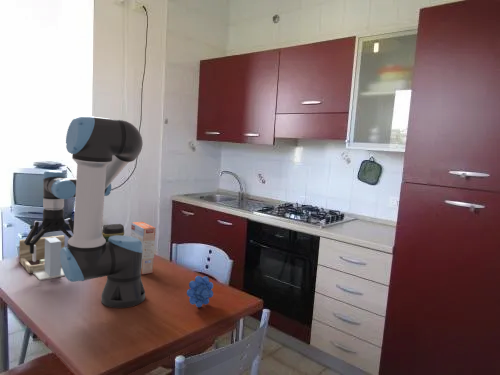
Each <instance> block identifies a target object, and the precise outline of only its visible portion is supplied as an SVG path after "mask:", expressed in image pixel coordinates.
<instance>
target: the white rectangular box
mask: <svg viewBox="0 0 500 375" xmlns="http://www.w3.org/2000/svg"><path fill="white" fill-rule="evenodd" d="M60 251H61V241H60V240H58V239H57V238H56V237H53V238H45V266H44V271H45V272H46V273H47V274H48V275H49V276H55V275H61V260H60Z"/></svg>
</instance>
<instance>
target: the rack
mask: <svg viewBox="0 0 500 375" xmlns="http://www.w3.org/2000/svg"><path fill="white" fill-rule="evenodd" d="M65 236H66V235H65V234H64V235H54V236H45V237H43V236H42V237H41V238H40V239H39V240H38V241H37V243H36V244H35V245H36V261H40V260H42V259H45V238H53V237H56V238H57V239H58V240H60V241H61V249H62V248H64V247H65V243H66V242H65ZM25 240H26V238H25V239H19V254H18V255H19V256H18V257H19V258H18V259H19V263H20V264H21V265H22V266H23V268H24V269H25V270H26V271H27V272H28V273H29V274H33V272H34V271H40V270H44V266H45V263H44V264H40V263H38V264H31V263H30V262H31V261H32V262H33V260H32V254H31V253H30V246H29V245H26V244H25V243H24V242H25ZM31 241H32V240H31ZM31 241H30V242H31ZM61 267H62V266H61Z"/></svg>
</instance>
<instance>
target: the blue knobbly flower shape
mask: <svg viewBox="0 0 500 375" xmlns="http://www.w3.org/2000/svg"><path fill="white" fill-rule="evenodd" d="M188 286H189V288H188V289H187V291H186V295H187V297H188V298H189V300H188V301H189V303H190V305H195V306H196V307H197V308H201V307H202V306H203V305H206V306H207V305H208V304H209V303H210V298H212V297H213V296H214V291H213V289H214V283H213V282H212V281H210V278H209V277H208V276H206V275H205V276H201V275H197V276H195V277H194V280H191V281H189V283H188Z"/></svg>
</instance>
